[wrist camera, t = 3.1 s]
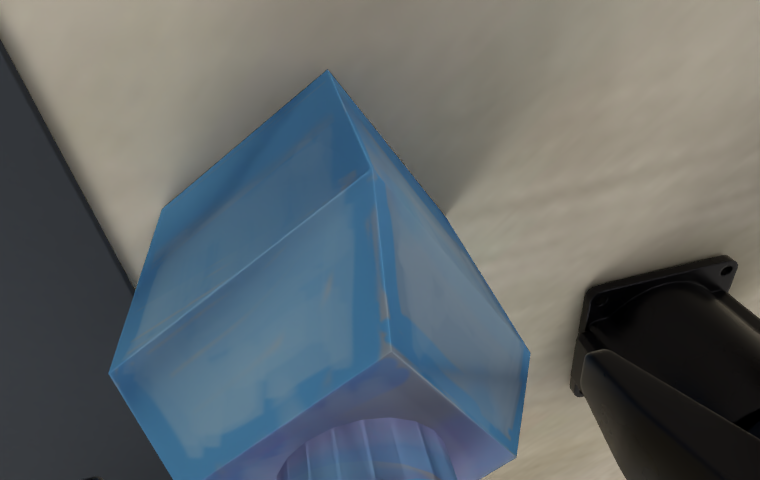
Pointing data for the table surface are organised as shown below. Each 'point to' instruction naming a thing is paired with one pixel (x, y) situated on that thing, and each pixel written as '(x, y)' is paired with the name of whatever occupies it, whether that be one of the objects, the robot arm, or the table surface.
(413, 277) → the perfume bottle
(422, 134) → the table surface
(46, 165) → the desk mat
